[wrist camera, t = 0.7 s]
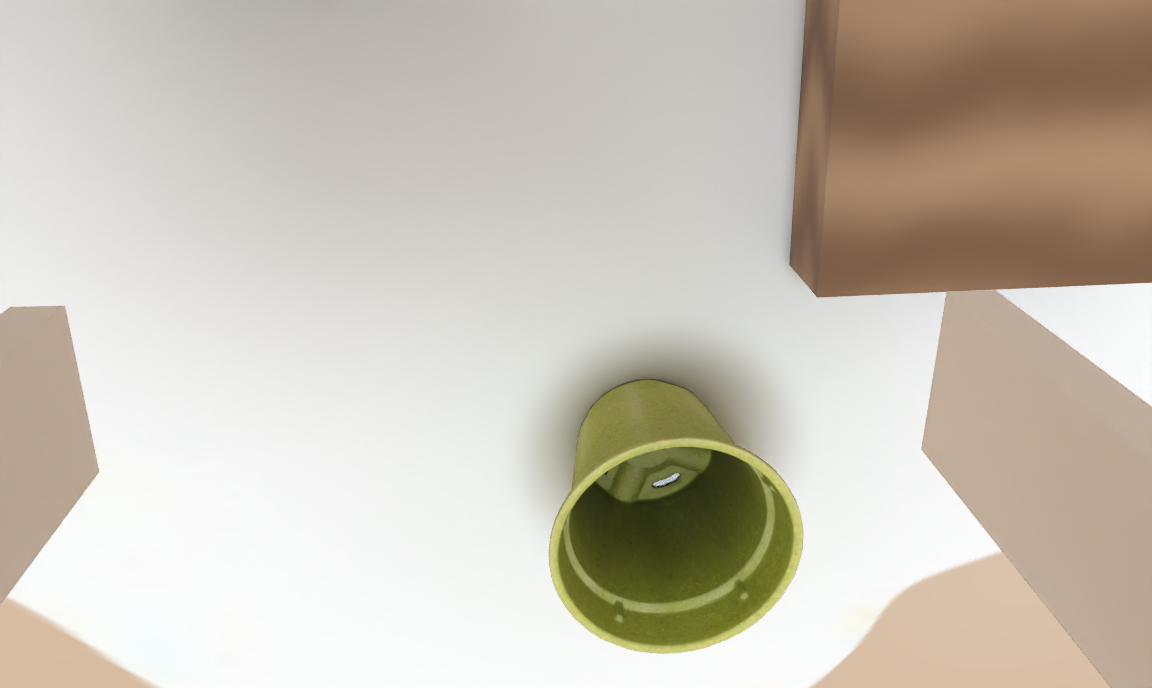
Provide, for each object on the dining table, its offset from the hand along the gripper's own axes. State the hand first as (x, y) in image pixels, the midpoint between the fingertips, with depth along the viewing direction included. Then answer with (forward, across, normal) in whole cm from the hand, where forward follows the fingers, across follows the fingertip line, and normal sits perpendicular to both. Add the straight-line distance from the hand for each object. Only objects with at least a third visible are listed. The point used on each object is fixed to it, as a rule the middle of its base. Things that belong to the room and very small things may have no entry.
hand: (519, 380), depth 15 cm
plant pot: (+25, +6, -15) cm, 30 cm away
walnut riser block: (+25, +18, +2) cm, 31 cm away
